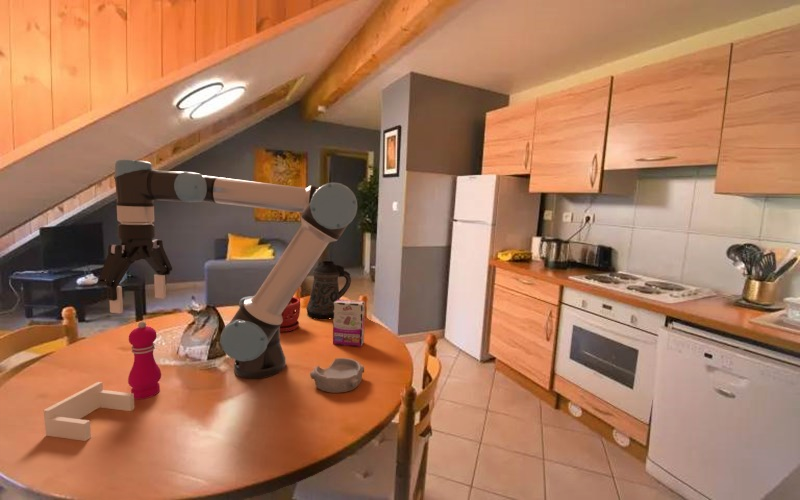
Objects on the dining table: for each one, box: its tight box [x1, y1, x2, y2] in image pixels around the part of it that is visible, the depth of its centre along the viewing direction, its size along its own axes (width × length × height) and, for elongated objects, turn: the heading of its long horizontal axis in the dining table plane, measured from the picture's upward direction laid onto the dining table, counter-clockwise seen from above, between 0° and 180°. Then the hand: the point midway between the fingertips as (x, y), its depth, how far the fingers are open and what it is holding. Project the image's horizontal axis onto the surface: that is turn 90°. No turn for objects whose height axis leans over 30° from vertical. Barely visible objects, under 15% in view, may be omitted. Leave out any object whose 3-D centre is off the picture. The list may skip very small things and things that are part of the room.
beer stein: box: [305, 260, 352, 320], centre depth 168 cm, size 16×19×25 cm
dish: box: [309, 357, 365, 394], centre depth 106 cm, size 14×14×5 cm
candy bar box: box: [332, 299, 366, 348], centre depth 135 cm, size 11×5×16 cm, turn 83°
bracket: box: [43, 381, 135, 442], centre depth 83 cm, size 10×12×6 cm
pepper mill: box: [127, 321, 162, 400], centre depth 95 cm, size 7×7×20 cm
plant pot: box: [280, 296, 301, 333], centre depth 147 cm, size 13×13×12 cm
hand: (140, 304), depth 93 cm, fingers open, 13 cm apart
